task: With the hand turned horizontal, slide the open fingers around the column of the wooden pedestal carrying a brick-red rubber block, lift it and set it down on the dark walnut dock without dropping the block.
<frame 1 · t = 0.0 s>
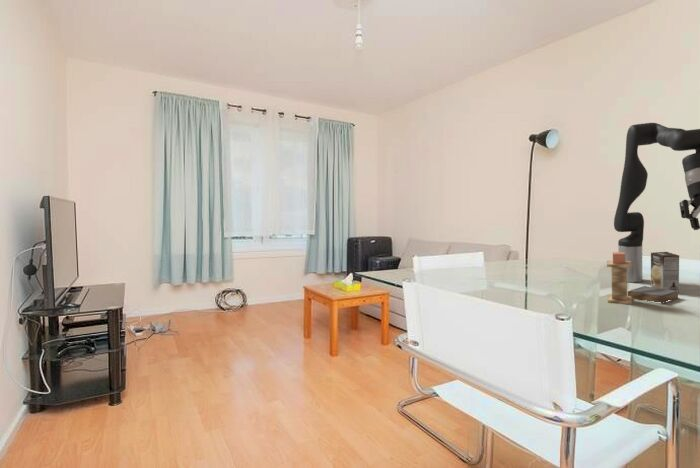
wooden pedestal: (619, 300, 151), on the table, touching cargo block
coffee box: (664, 290, 160), on the table
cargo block: (618, 262, 150), point 16 cm above the table, touching wooden pedestal
dock: (652, 298, 151), on the table
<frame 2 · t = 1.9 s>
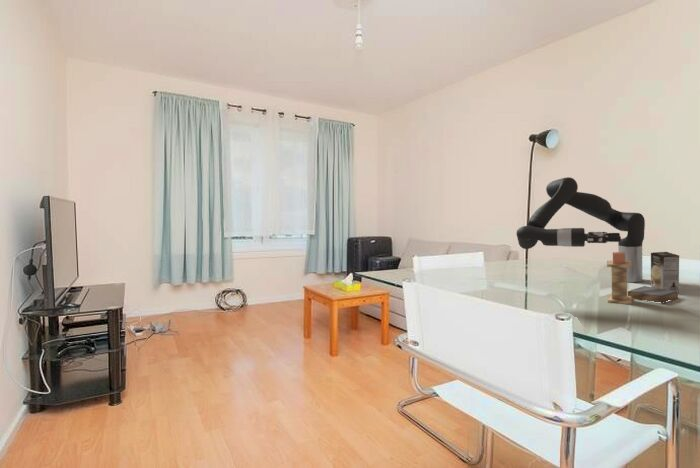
hand: (620, 237, 139), 28 cm above the table, tool horizontal, fingers open, 8 cm apart
nothing on the table moved.
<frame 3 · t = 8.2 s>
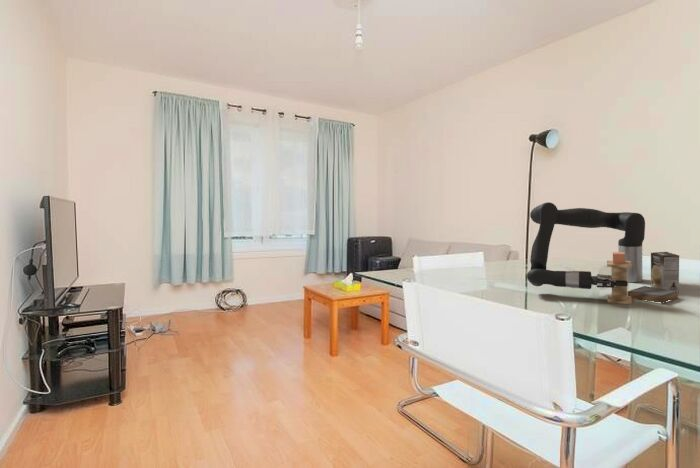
hand: (627, 282, 149), 8 cm above the table, tool horizontal, fingers closed on wooden pedestal, 5 cm apart
wooden pedestal: (619, 300, 151), on the table, touching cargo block, gripper
everything else where it was.
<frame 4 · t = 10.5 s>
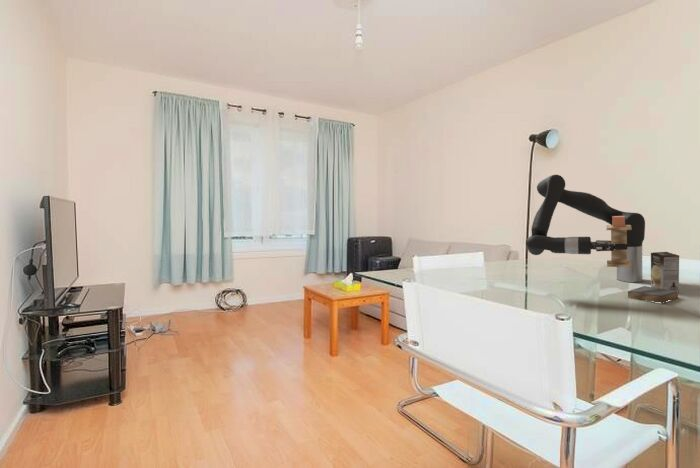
hand: (626, 245, 148), 23 cm above the table, tool horizontal, fingers closed on wooden pedestal, 5 cm apart
wooden pedestal: (619, 264, 150), point 15 cm above the table, touching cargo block, gripper
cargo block: (618, 226, 148), point 31 cm above the table, touching wooden pedestal
everything else where it was.
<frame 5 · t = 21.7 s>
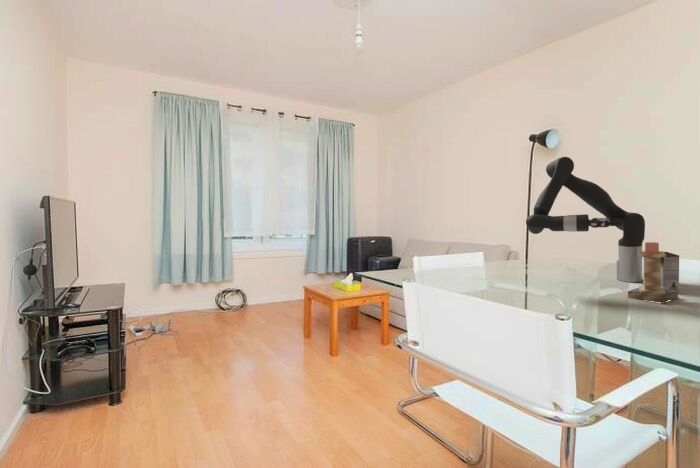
hand: (621, 222, 154), 32 cm above the table, tool horizontal, fingers open, 8 cm apart
wooden pedestal: (651, 290, 151), point 3 cm above the table, touching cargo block, dock
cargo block: (651, 252, 149), point 19 cm above the table, touching wooden pedestal
everything else where it was.
at the end: wooden pedestal inside the target area on the dock (0.1 cm from its centre), point 3.0 cm above the dock's base; wooden pedestal tilted 0°; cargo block point 19.0 cm above the table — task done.
